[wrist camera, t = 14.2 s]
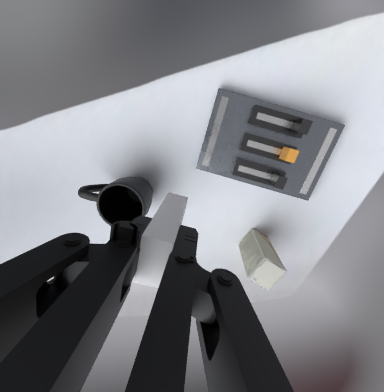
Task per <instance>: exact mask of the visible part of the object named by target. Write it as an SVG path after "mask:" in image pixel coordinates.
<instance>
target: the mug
mask: <svg viewBox="0 0 384 392" xmlns="http://www.w3.org/2000/svg"><path fill="white" fill-rule="evenodd" d="M98 191H100V192H99V194H96V193H92V192H98ZM78 195H79V196H80V197H81V198H84V199H87V200H91V201H96V202H97V210H98V212H99V214H100V216H101V217H102V219H103V220H104V221H105V222H106V223H107V224H109V225H110V226H111V225H112V224H113V223H114V222H117V221H131V222H132V221H133V220H134V219H135V218H136V217H139V216H145V215H146V214H147V213H148V211H149V208H150V206H151V202H152V188H151V185H150V184H149V183H148V182H147V181H146V180H145V179H142V178H136V177H126V178H122V179H118V180H116V181H114V182H112V183H110V184H98V185H88V186H83V187H81V188H80V189H79V191H78Z"/></svg>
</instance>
